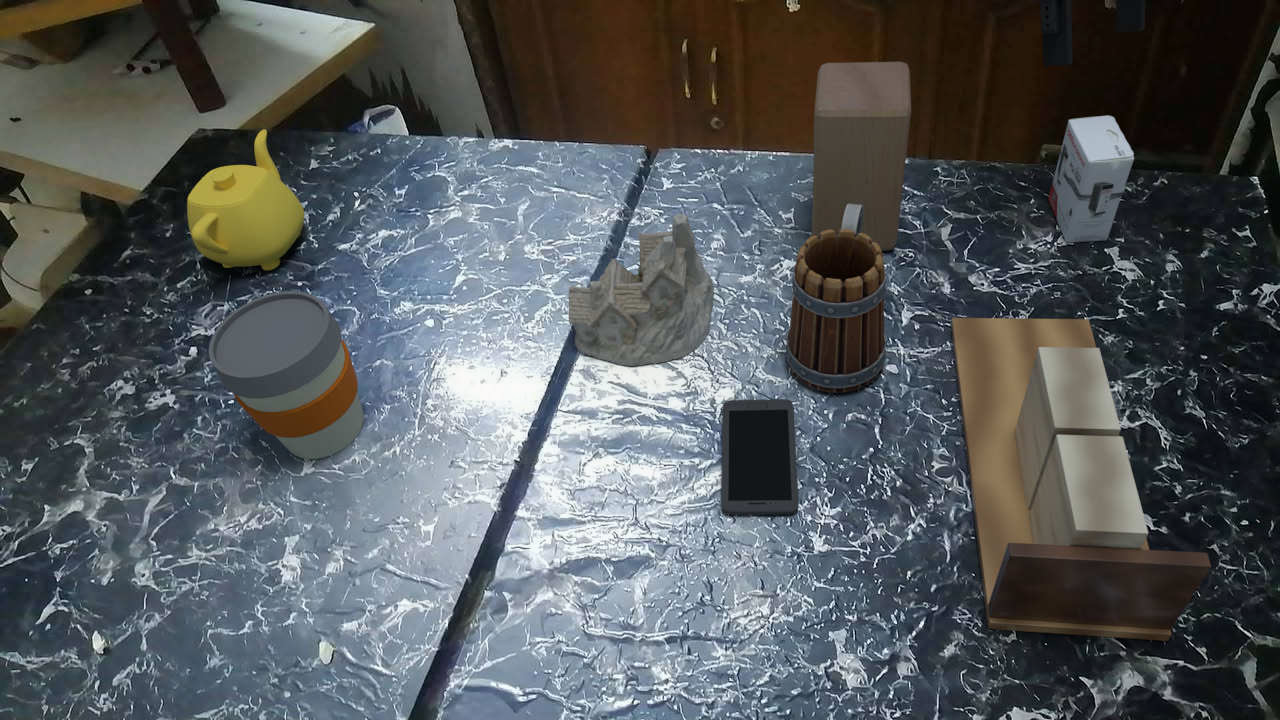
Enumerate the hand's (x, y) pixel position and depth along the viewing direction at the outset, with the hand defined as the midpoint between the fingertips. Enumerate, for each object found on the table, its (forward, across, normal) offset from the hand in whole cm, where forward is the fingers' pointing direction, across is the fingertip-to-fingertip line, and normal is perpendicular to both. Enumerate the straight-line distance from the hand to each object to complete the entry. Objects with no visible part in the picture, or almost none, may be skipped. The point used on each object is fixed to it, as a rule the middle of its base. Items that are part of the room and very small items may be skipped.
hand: (1095, 47), depth 97 cm
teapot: (+6, +71, -77) cm, 105 cm away
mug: (+24, +31, -12) cm, 41 cm away
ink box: (+21, -4, -5) cm, 22 cm away
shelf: (+32, +28, +11) cm, 44 cm away
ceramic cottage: (+19, +43, -30) cm, 56 cm away
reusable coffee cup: (+20, +79, -44) cm, 92 cm away
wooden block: (+17, +15, -23) cm, 32 cm away
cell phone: (+28, +48, -8) cm, 56 cm away
